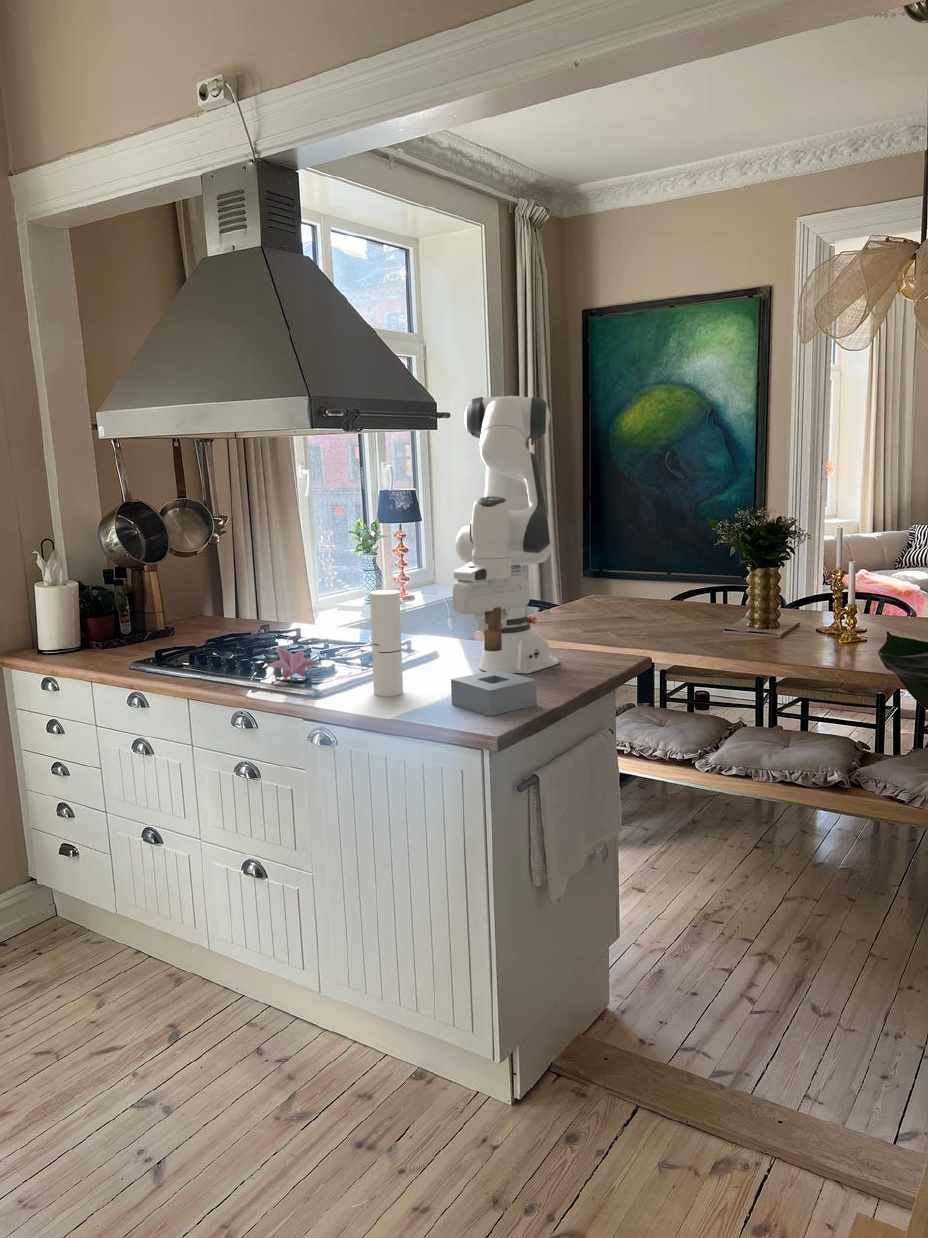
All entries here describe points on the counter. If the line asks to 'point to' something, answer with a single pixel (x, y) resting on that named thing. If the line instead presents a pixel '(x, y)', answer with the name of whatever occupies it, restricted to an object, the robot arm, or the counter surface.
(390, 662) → the cylindrical container
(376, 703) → the counter surface
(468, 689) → the socket block
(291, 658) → the lily
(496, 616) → the walnut peg
